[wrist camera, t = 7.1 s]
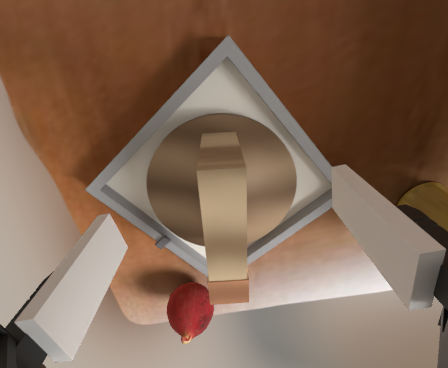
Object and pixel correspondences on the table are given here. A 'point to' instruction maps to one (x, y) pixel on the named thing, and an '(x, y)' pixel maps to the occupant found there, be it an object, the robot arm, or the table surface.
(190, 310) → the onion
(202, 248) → the panel
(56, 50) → the table surface
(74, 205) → the table surface
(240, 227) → the dial
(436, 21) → the table surface
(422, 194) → the vase
